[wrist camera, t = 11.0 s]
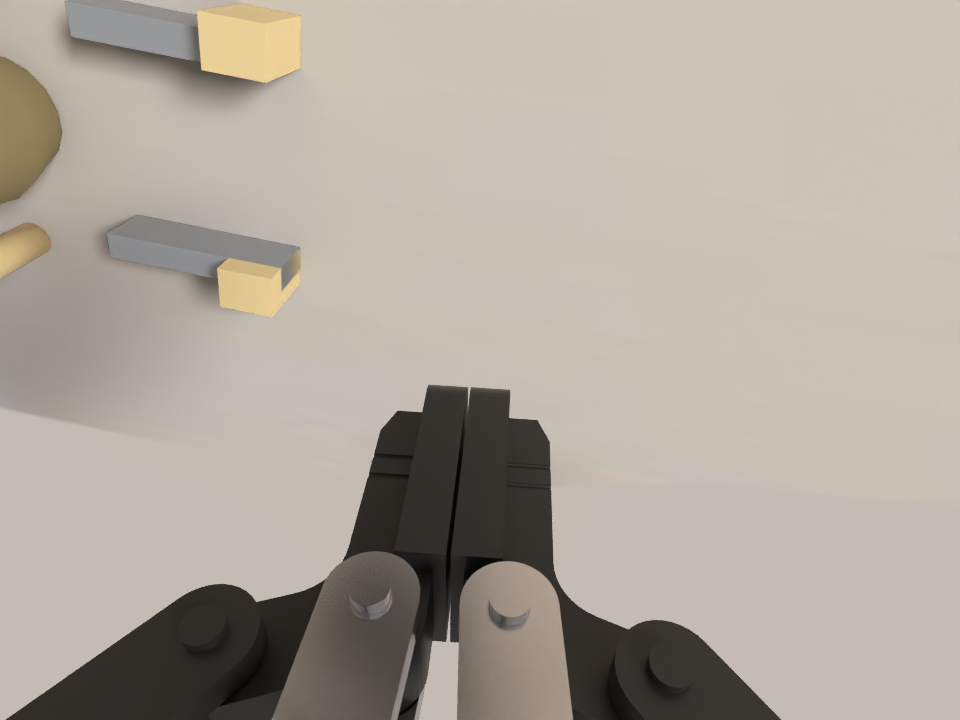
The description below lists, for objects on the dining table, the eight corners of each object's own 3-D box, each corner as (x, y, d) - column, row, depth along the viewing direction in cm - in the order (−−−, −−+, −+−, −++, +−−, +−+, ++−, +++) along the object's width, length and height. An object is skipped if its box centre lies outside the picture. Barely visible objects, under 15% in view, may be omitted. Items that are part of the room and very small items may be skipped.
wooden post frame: (-68, -95, 30) (-195, -105, 25) (300, -23, 30) (247, -18, 25) (23, 249, 40) (-55, 292, 35) (299, 305, 40) (261, 355, 35)
